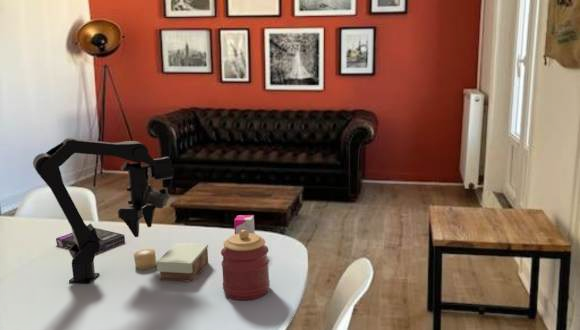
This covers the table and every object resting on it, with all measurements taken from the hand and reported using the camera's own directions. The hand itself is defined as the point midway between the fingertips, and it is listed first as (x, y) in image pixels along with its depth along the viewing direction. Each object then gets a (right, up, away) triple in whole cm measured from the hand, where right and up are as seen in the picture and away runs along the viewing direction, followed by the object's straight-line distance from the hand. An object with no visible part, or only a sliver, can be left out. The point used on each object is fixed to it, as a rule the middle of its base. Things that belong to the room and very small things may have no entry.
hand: (143, 231), depth 169 cm
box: (-24, -8, +23) cm, 35 cm away
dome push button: (0, -11, +2) cm, 11 cm away
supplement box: (+31, -8, +13) cm, 34 cm away
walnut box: (+14, -12, -3) cm, 18 cm away
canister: (+33, -14, -17) cm, 40 cm away
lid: (+13, -9, -4) cm, 16 cm away
